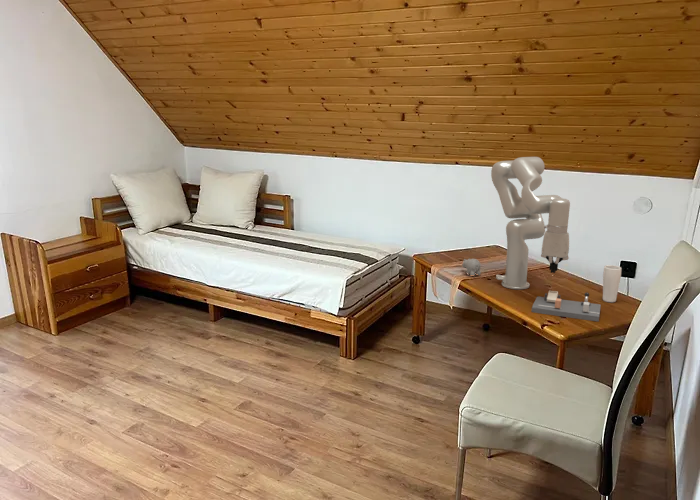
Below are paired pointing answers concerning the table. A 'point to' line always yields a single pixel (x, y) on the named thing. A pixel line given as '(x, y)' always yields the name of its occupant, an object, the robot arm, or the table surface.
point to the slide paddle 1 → (557, 303)
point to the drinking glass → (611, 282)
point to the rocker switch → (552, 296)
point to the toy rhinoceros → (472, 266)
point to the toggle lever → (586, 296)
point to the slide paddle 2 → (586, 307)
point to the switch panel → (566, 309)
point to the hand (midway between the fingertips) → (553, 271)
